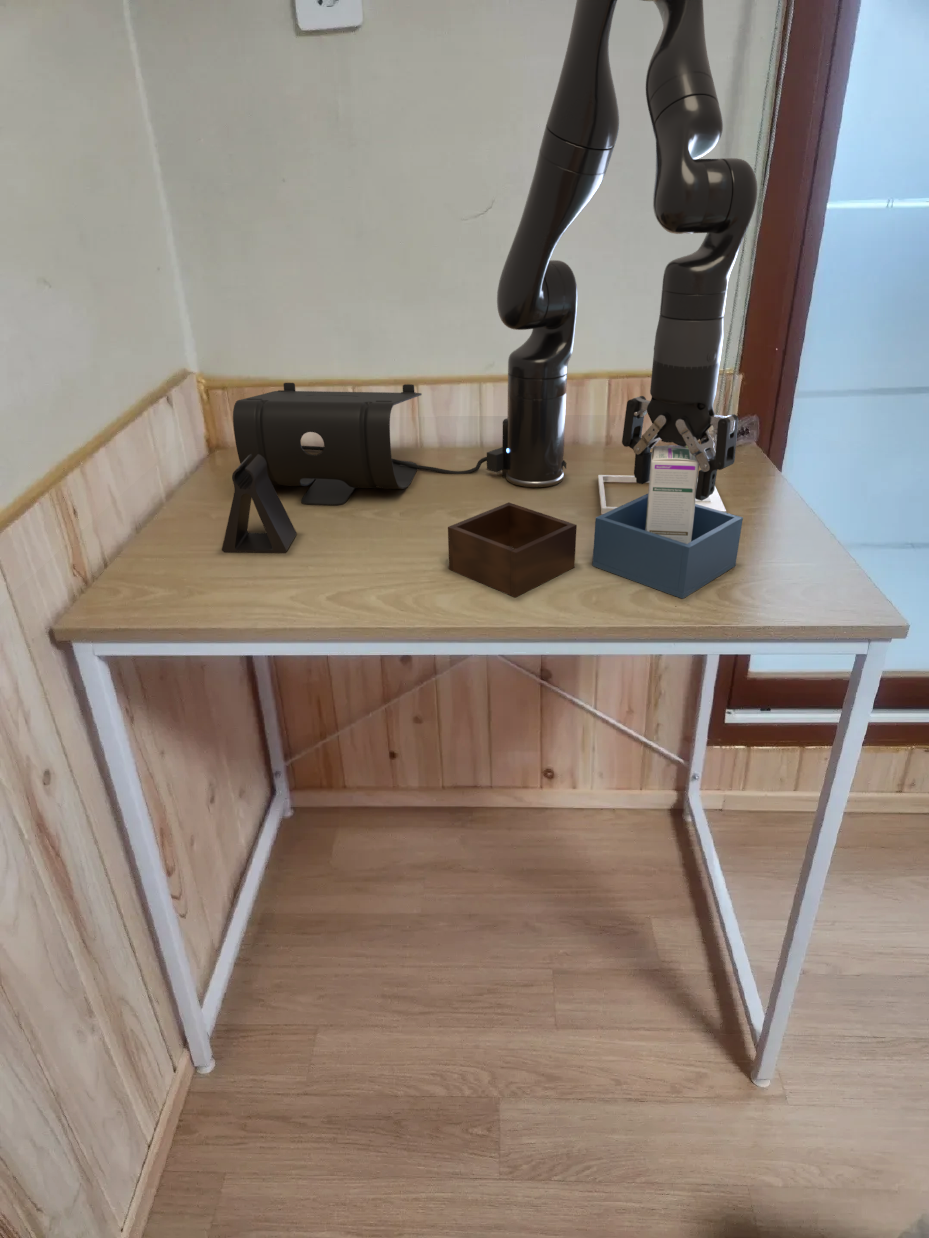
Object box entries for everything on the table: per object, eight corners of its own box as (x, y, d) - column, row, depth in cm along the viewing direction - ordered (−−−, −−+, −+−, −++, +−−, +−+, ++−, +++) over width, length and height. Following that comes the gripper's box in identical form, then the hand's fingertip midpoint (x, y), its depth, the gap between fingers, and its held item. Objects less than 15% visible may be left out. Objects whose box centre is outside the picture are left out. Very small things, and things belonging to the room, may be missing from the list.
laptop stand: (238, 506, 131) (223, 406, 123) (284, 457, 151) (274, 369, 144) (400, 511, 128) (395, 409, 120) (425, 460, 148) (422, 371, 141)
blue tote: (592, 566, 110) (595, 517, 107) (647, 537, 118) (651, 491, 115) (682, 599, 102) (689, 547, 98) (735, 566, 110) (743, 517, 106)
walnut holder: (448, 569, 110) (447, 526, 107) (508, 542, 117) (508, 502, 114) (515, 597, 103) (516, 552, 100) (574, 567, 110) (576, 524, 107)
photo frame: (726, 510, 123) (601, 507, 125) (725, 517, 124) (601, 514, 125) (711, 476, 136) (598, 473, 137) (710, 482, 136) (597, 480, 138)
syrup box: (688, 571, 107) (702, 460, 100) (641, 568, 108) (651, 458, 101) (687, 552, 111) (700, 446, 104) (641, 549, 113) (651, 443, 105)
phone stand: (297, 535, 120) (287, 454, 114) (286, 553, 115) (275, 469, 109) (235, 534, 121) (222, 453, 115) (222, 552, 116) (207, 468, 110)
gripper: (760, 360, 95) (739, 496, 103) (652, 343, 104) (640, 469, 112) (726, 371, 90) (706, 513, 98) (616, 353, 99) (606, 484, 107)
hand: (671, 490), depth 105 cm, fingers open, 8 cm apart
